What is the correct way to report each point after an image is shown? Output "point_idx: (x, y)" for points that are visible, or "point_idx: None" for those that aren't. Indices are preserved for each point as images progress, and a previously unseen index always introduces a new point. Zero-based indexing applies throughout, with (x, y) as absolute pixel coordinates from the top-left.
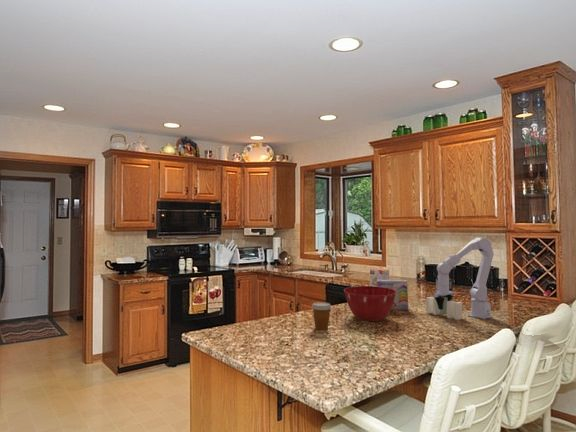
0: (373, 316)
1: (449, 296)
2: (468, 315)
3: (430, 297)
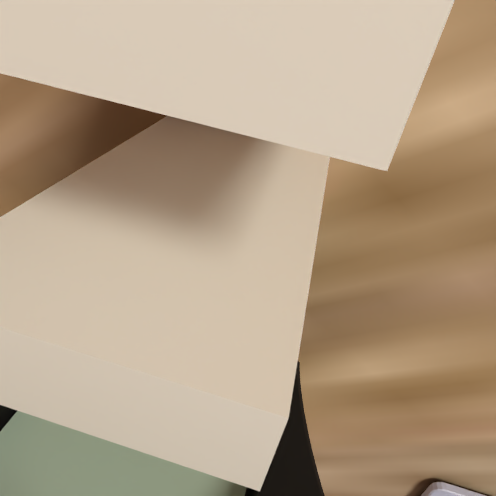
0: None
1: None
2: (430, 486)
3: (5, 24)
